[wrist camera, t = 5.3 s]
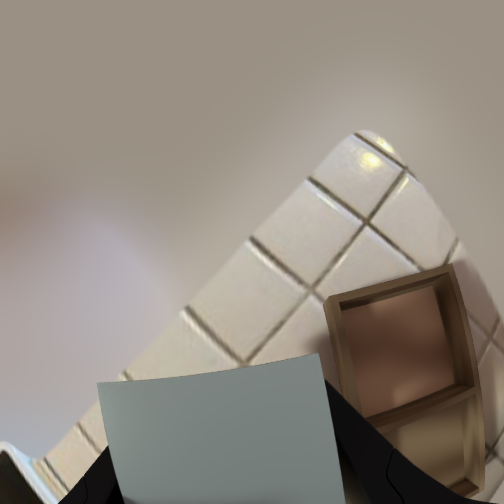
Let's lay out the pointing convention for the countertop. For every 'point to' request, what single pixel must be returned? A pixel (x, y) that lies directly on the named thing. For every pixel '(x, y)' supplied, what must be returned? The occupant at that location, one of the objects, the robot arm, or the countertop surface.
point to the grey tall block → (225, 436)
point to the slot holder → (414, 372)
